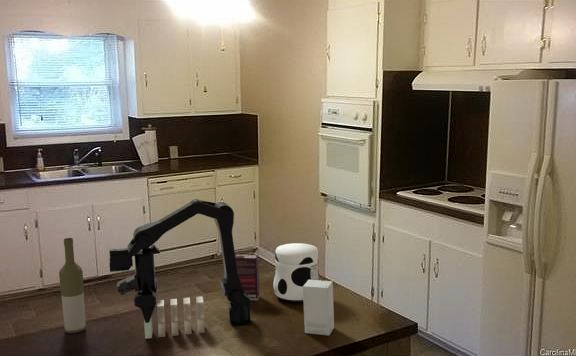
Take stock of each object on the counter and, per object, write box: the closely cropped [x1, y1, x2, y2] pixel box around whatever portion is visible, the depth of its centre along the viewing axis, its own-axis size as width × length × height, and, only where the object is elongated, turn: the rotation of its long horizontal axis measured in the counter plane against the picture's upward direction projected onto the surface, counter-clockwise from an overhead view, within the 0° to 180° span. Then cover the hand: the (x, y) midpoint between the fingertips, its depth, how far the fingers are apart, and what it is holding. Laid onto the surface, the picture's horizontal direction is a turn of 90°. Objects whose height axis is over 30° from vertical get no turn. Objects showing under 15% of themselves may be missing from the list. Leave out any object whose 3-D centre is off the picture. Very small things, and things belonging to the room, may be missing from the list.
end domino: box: [195, 295, 206, 334], centre depth 176 cm, size 2×5×10 cm, turn 12°
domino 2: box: [156, 299, 166, 338], centre depth 174 cm, size 2×5×10 cm, turn 12°
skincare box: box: [302, 279, 335, 336], centre depth 173 cm, size 8×7×16 cm
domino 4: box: [182, 297, 192, 335], centre depth 175 cm, size 2×5×10 cm, turn 12°
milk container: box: [272, 242, 321, 303], centre depth 202 cm, size 17×17×18 cm
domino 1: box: [143, 315, 153, 339], centre depth 173 cm, size 2×5×10 cm, turn 11°
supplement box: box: [235, 253, 260, 301], centre depth 202 cm, size 9×5×16 cm, turn 84°
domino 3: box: [169, 298, 180, 337], centre depth 174 cm, size 2×5×10 cm, turn 12°
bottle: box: [58, 237, 87, 334], centre depth 175 cm, size 7×7×30 cm
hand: (147, 316), depth 173 cm, fingers open, 9 cm apart
